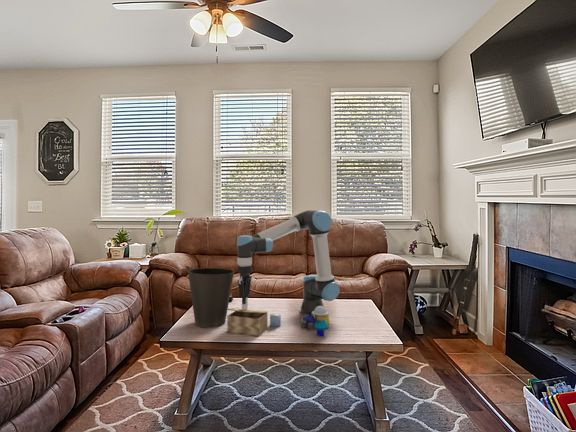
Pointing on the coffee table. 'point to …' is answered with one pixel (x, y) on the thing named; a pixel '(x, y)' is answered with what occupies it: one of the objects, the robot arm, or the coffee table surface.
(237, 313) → the box
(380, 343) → the coffee table surface
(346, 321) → the coffee table surface
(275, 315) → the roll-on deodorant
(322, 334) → the toy
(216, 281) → the waste basket
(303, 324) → the toy
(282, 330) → the coffee table surface
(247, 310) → the lid
